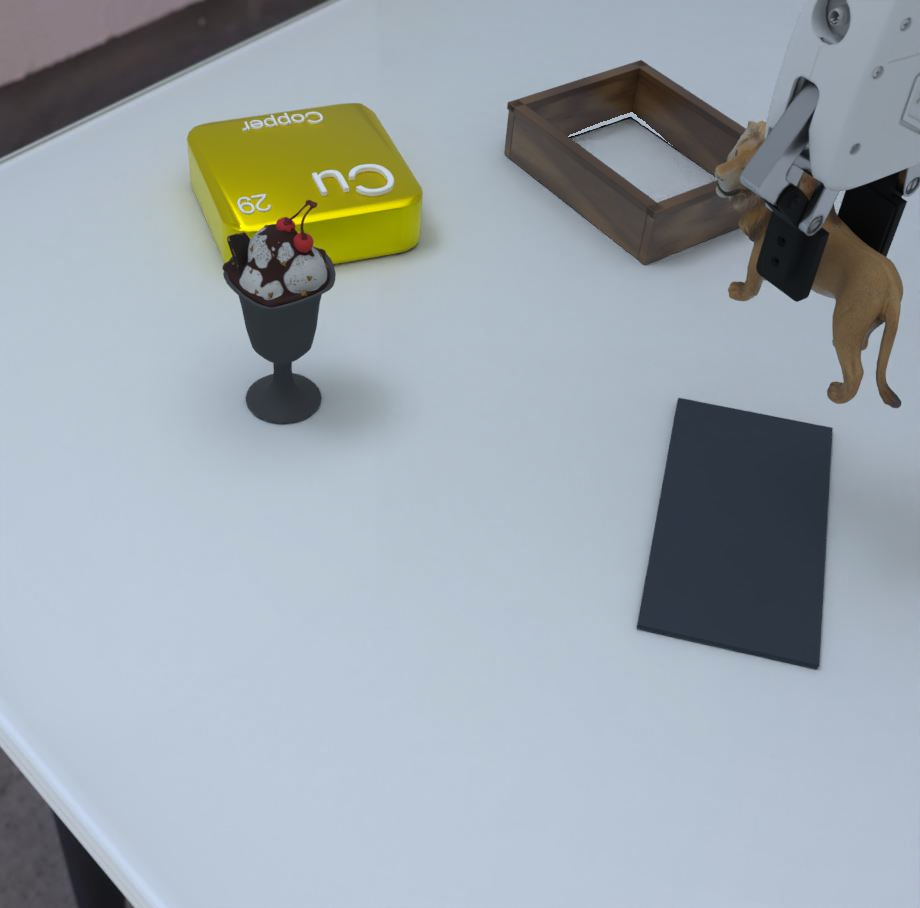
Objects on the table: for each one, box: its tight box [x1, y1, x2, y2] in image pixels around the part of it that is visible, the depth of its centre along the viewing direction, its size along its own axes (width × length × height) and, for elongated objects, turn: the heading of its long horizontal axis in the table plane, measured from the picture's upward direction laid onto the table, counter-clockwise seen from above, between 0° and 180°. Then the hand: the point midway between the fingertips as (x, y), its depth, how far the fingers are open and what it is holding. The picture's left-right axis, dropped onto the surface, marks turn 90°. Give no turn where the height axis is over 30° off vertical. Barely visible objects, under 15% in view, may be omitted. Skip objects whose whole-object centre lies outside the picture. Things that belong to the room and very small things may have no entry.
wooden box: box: [503, 59, 747, 266], centre depth 103 cm, size 14×18×5 cm
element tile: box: [186, 102, 423, 265], centre depth 99 cm, size 15×15×5 cm
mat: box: [636, 397, 834, 670], centre depth 79 cm, size 20×10×1 cm, turn 165°
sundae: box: [221, 200, 336, 425], centre depth 80 cm, size 7×7×15 cm
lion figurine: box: [714, 120, 904, 409], centre depth 66 cm, size 15×5×9 cm, turn 40°
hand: (819, 266), depth 67 cm, fingers closed on lion figurine, 4 cm apart
